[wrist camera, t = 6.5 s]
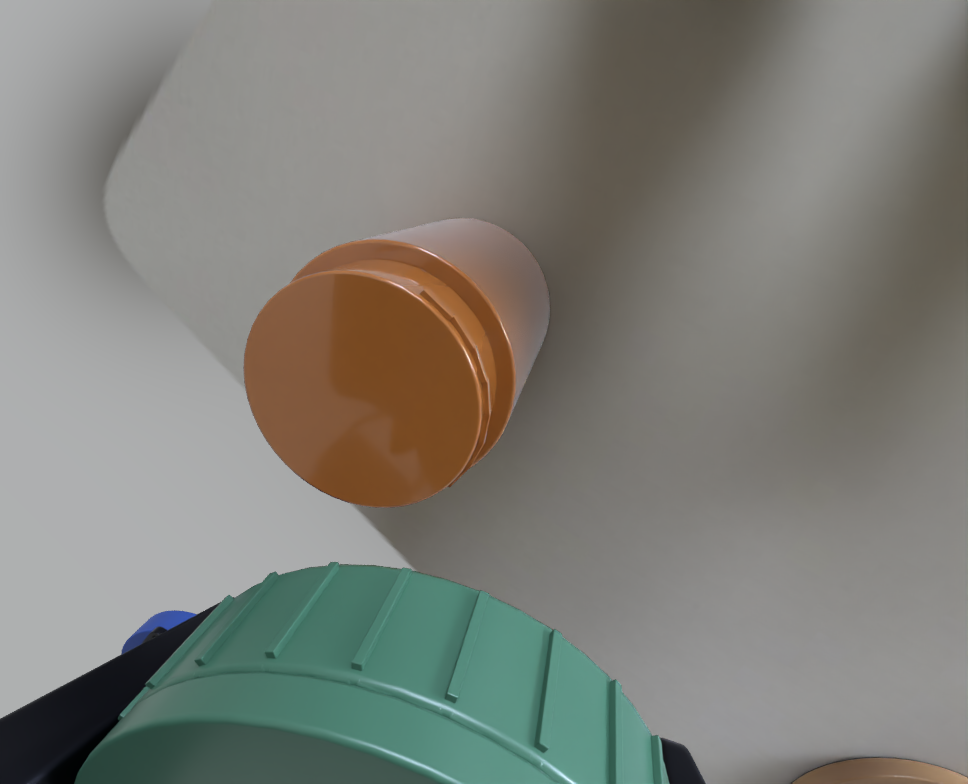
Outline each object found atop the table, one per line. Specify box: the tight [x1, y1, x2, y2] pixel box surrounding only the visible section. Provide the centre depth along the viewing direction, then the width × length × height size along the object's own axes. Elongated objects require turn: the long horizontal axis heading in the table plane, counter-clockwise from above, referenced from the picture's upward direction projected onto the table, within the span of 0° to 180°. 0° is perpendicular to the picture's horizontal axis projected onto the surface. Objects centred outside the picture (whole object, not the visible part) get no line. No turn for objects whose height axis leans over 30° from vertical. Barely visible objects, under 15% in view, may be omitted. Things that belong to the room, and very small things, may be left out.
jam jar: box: [244, 218, 550, 508], centre depth 15 cm, size 6×6×9 cm
